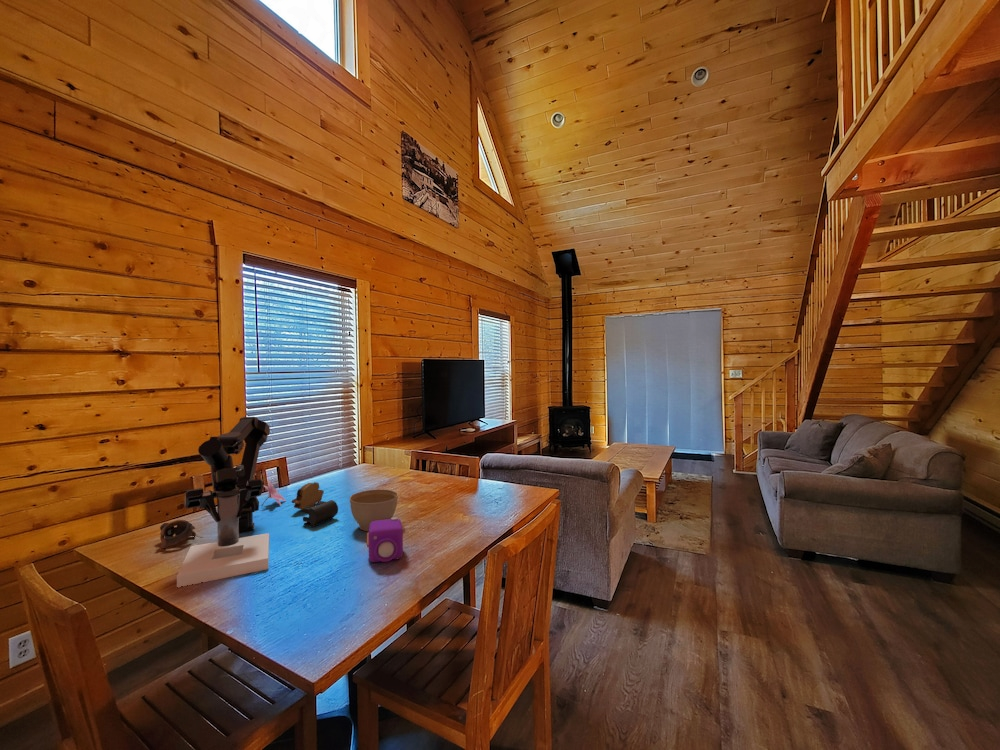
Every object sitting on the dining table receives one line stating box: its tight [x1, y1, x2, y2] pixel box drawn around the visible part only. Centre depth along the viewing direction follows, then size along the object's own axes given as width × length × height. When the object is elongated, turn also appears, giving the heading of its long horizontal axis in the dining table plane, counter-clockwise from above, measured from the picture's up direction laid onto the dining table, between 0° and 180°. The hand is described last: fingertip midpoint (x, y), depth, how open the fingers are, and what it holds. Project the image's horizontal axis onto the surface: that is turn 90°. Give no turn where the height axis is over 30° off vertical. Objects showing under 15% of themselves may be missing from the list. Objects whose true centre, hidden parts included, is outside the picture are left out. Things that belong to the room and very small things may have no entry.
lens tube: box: [216, 487, 240, 547], centre depth 116 cm, size 5×5×15 cm
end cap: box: [302, 499, 339, 528], centre depth 147 cm, size 10×7×7 cm
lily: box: [261, 479, 286, 507], centre depth 167 cm, size 12×12×10 cm
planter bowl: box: [349, 488, 399, 532], centre depth 143 cm, size 16×16×11 cm
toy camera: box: [366, 516, 404, 563], centre depth 119 cm, size 11×14×10 cm
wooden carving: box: [291, 481, 325, 511], centre depth 163 cm, size 16×5×10 cm, turn 172°
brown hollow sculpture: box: [159, 519, 197, 549], centre depth 130 cm, size 12×10×8 cm
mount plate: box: [176, 532, 270, 588], centre depth 116 cm, size 20×20×3 cm
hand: (228, 519), depth 115 cm, fingers closed on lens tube, 5 cm apart
